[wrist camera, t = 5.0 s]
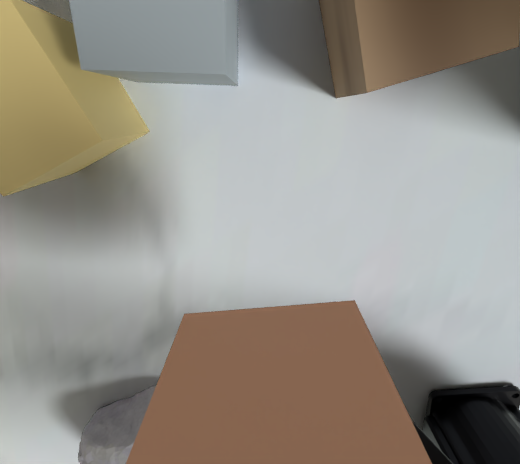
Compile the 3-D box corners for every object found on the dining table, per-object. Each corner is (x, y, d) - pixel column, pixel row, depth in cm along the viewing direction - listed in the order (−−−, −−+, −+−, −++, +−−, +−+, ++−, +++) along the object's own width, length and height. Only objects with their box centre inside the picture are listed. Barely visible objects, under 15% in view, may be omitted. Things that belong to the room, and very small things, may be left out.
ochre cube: (91, 31, 14) (5, -7, 9) (150, 131, 16) (102, 140, 11) (12, 83, 15) (-101, 71, 10) (76, 172, 17) (3, 196, 12)
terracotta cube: (354, 300, 9) (461, 526, 4) (352, 418, 10) (422, 665, 6) (184, 313, 9) (95, 540, 4) (212, 426, 11) (172, 669, 6)
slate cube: (238, -42, 13) (223, -127, 8) (238, 85, 15) (225, 74, 10) (124, -46, 13) (46, -133, 8) (138, 82, 15) (80, 69, 10)
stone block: (193, 353, 24) (81, 409, 24) (192, 405, 20) (53, 474, 19) (253, 437, 28) (159, 485, 28) (263, 494, 24) (152, 552, 24)
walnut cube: (430, -62, 13) (526, -161, 8) (437, 67, 14) (519, 46, 10) (315, -20, 13) (341, -91, 9) (335, 98, 15) (366, 92, 10)
